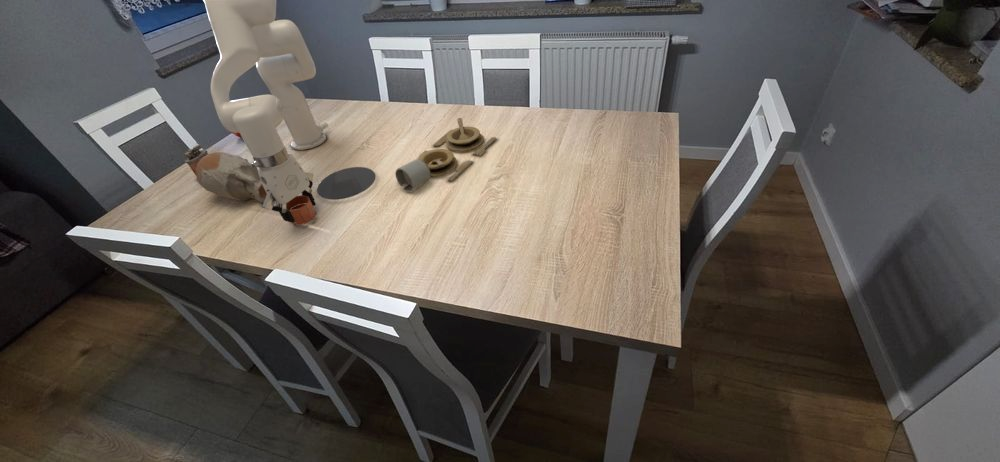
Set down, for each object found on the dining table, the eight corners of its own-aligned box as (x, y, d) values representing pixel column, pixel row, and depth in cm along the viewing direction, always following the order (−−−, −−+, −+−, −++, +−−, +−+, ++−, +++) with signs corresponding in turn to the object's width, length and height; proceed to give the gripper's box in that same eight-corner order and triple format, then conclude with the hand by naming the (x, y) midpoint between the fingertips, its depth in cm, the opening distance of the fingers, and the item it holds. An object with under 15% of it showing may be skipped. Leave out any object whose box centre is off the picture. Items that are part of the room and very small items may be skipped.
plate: (345, 166, 134) (344, 163, 133) (388, 175, 127) (387, 171, 127) (305, 196, 122) (304, 193, 121) (350, 207, 116) (349, 204, 115)
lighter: (203, 180, 135) (186, 155, 129) (195, 180, 136) (177, 154, 130) (220, 168, 141) (204, 142, 135) (212, 167, 142) (196, 142, 136)
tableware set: (452, 130, 147) (449, 115, 143) (498, 138, 139) (497, 123, 135) (401, 172, 128) (396, 155, 124) (452, 184, 120) (448, 167, 116)
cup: (303, 207, 116) (296, 193, 113) (322, 212, 113) (315, 197, 110) (284, 222, 111) (276, 207, 108) (303, 228, 108) (295, 213, 105)
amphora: (211, 141, 129) (255, 143, 112) (248, 179, 139) (294, 185, 122) (173, 169, 122) (214, 175, 105) (216, 206, 132) (259, 217, 115)
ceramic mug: (434, 181, 122) (429, 159, 117) (415, 195, 117) (409, 172, 112) (410, 172, 127) (404, 151, 122) (391, 185, 123) (384, 163, 118)
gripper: (253, 177, 93) (286, 235, 104) (308, 142, 104) (333, 197, 116) (232, 172, 95) (266, 229, 107) (288, 139, 107) (314, 193, 118)
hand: (301, 212), depth 111 cm, fingers closed on cup, 7 cm apart
